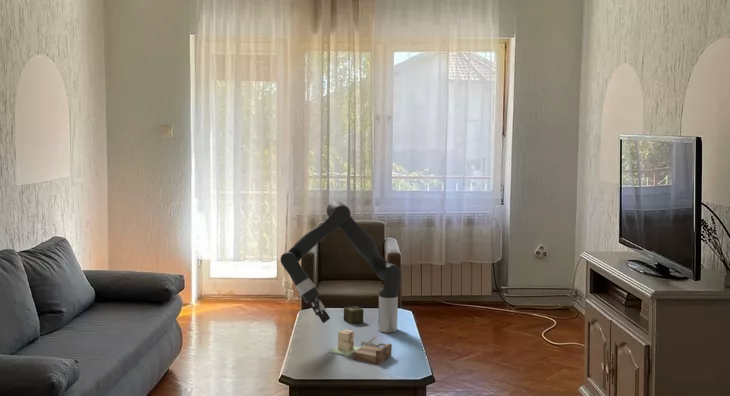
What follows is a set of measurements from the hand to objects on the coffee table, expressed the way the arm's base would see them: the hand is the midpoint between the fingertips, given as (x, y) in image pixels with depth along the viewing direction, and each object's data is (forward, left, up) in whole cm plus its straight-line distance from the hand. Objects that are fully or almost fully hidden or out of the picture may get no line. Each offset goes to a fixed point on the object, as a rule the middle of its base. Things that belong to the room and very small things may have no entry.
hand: (326, 320), depth 328 cm
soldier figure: (-6, +22, -12) cm, 25 cm away
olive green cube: (-42, -9, -12) cm, 45 cm away
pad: (+2, +11, -11) cm, 16 cm away
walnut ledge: (+4, +25, -11) cm, 28 cm away
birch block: (+2, +11, -11) cm, 16 cm away
